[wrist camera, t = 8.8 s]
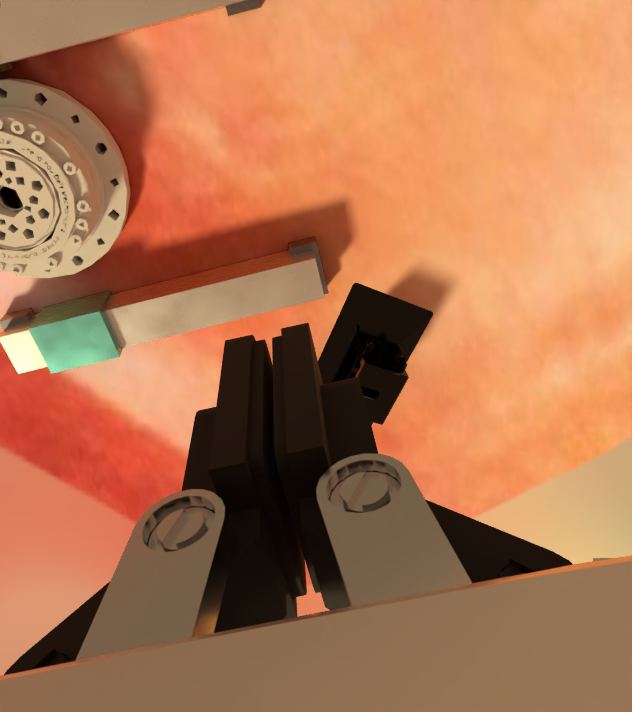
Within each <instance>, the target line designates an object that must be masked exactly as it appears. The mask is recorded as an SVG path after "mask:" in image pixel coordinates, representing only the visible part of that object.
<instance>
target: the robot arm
mask: <svg viewBox="0 0 632 712" xmlns="http://www.w3.org/2000/svg"><path fill="white" fill-rule="evenodd" d="M281 333H282V336H279V337H274V338H272V348H273V365H272V362H271V358H270V354H269V351H268V347H267V344H266V341H265V340H260V341H256V340H255V338H254V336H253V335H249V336H245V337H240V338H235V339H231V340H226V341H225V346H224V354H223V361H222V369H221V377H220V384H219V392H218V399H217V407H213V408H209V409H204V410H199V411H198V412H197V413H196V416H195V421H194V426H193V432H192V437H191V443H190V448H189V454H188V459H187V465H186V470H185V476H184V481H183V487H182V491H180V492H176V493H174V494H171V495H169V496H167V497H164V498H163V499H161V500H160V501H158V502H157V503H155V504H154V505H152V506H151V507H150V508H149V509H148V510H147V511H146V512H145V513H144V514H143V515H142V516H141V517H140V519H139V520H138V522H137V524H136V525H135V527H134V529H133V531H132V534H131V536H130V538H129V541H128V543H127V545H126V547H125V550H124V552H123V554H122V556H121V559H120V561H119V563H118V565H117V568H116V570H115V572H114V574H113V577H112V579H111V581H110V582H109V583H108V584H106V585H105V586H104V587H103V588H102V589H101V590H99V591H98V592H97V593H96V594H95V595H93V596H92V597H91V598H90V599H89V600H87V601H86V602H85V603H84V604H83V605H81V606H80V607H79V608H78V609H77V610H76V611H74V612H73V613H72V614H71V615H70V616H68V617H67V618H66V619H65V620H64V621H62V622H61V623H60V624H59V625H58V626H57V627H55V628H54V629H53V630H52V631H51V632H49V633H48V634H47V635H46V636H45V637H43V638H42V639H41V640H40V641H39V642H38V643H36V644H35V645H34V646H33V647H32V648H31V649H29V650H28V651H27V652H26V653H25V654H23V655H22V656H21V657H20V658H19V659H18V660H17V661H16V662H15V663H14V664H13V665H12V666H11V667H10V668H9V669H8V670H7V671H6V673H5V674H4V675H3V676H0V712H632V556H626V557H619V558H594V559H593V562H587V563H580V564H574V565H573V564H572V563H571V562H570V561H569V560H567V559H565V558H563V557H562V556H560V555H558V554H556V553H554V552H552V551H550V550H548V549H545V548H543V547H540V546H538V545H535V544H533V543H530V542H528V541H525V540H523V539H521V538H518V537H515V536H513V535H511V534H508V533H506V532H503V531H501V530H499V529H496V528H494V527H491V526H488V525H486V524H484V523H481V522H479V521H476V520H474V519H472V518H469V517H467V516H464V515H462V514H459V513H457V512H454V511H452V510H449V509H447V508H445V507H442V506H440V505H437V504H435V503H432V502H430V501H427V500H425V498H424V497H423V495H422V493H421V491H420V490H419V488H418V486H417V484H416V483H415V481H414V479H413V477H412V475H411V474H410V472H409V470H408V469H407V468H406V467H405V466H404V465H403V463H402V462H400V461H398V460H396V459H395V458H393V457H391V456H386V455H382V454H378V451H377V447H376V443H375V439H374V435H373V431H372V427H371V423H370V419H369V415H368V411H367V407H366V403H365V399H364V395H363V391H362V388H361V384H360V380H359V377H355V378H351V379H346V380H341V381H337V382H332V383H327V384H323V382H322V378H321V374H320V369H319V365H318V361H317V357H316V352H315V348H314V344H313V340H312V335H311V331H310V327H309V324H308V323H305V324H300V325H296V326H291V327H286V328H282V329H281ZM305 561H306V564H307V568H308V571H309V574H310V578H311V581H312V584H313V587H314V590H315V592H316V593H317V592H321V594H322V597H323V601H324V604H325V607H326V608H328V609H329V610H330V611H325V612H320V613H314V614H309V615H304V616H299V617H297V603H296V597H298V596H303V595H306V593H307V588H306V573H305Z"/></svg>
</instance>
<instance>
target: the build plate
mask: <svg viewBox="0 0 632 712" xmlns="http://www.w3.org/2000/svg"><path fill="white" fill-rule="evenodd" d="M432 316H433V312H431V311H429V310H426V309H424V308H421V307H418V306H416V305H413V304H411V303H408V302H405V301H403V300H400V299H398V298H395V297H392V296H390V295H387V294H385V293H382V292H379V291H377V290H374V289H372V288H369V287H366V286H364V285H361V284H359V283H354V284H353V286H352V288H351V290H350V292H349V295H348V297H347V299H346V301H345V303H344V306H343V308H342V310H341V312H340V314H339V317H338V319H337V321H336V323H335V325H334V328H333V330H332V332H331V334H330V336H329V338H328V341H327V343H326V345H325V347H324V349H323V352H322V354H321V356H320V358H319V360H318V365H319V369H320V374H321V378H322V382H323V384H327V383H332V382H337V381H341V380H346V379H351V378H355V377H359V380H360V384H361V388H362V391H363V395H364V399H365V403H366V407H367V411H368V415H369V419H370V423H371V425H372V424H373V422H374V423H378V424H381V425H382V424H383V423H384V421H385V419H386V418H387V416H388V414H389V412H390V410H391V409H392V407H393V405H394V403H395V401H396V400H397V398H398V396H399V394H400V392H401V390H402V389H403V387H404V385H405V383H406V381H407V380H408V378H409V377H408V375H407V373H406V371H405V369H406V367H407V363H406V362H407V361H408V359H409V357H410V355H411V353H412V352H413V350H414V348H415V346H416V344H417V343H418V341H419V339H420V337H421V335H422V334H423V332H424V330H425V328H426V326H427V325H428V323H429V321H430V319H431V318H432Z"/></svg>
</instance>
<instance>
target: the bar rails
mask: <svg viewBox="0 0 632 712" xmlns="http://www.w3.org/2000/svg"><path fill="white" fill-rule="evenodd" d="M223 7H226V9H227V13H228V16H231V15H234V14H238V13H242V12H246V11H250V10H253V9H257V8H261V4H260V0H0V72H3V71H6V70H10V69H14V66H13V64H12V63H13V62H17V61H21V60H25V59H29V58H32V57H36V56H40V55H44V54H48V53H51V52H55V51H59V50H63V49H67V48H70V47H74V46H78V45H82V44H86V43H90V42H93V41H97V40H101V39H105V38H109V37H112V36H116V35H120V34H124V33H128V32H131V31H135V30H139V29H143V28H147V27H151V26H154V25H158V24H162V23H166V22H170V21H173V20H177V19H181V18H185V17H189V16H192V15H196V14H200V13H204V12H208V11H212V10H215V9H219V8H223ZM288 247H289V250H287V251H283V252H279V253H275V254H271V255H267V256H263V257H259V258H255V259H251V260H247V261H243V262H239V263H235V264H231V265H227V266H223V267H219V268H215V269H211V270H207V271H203V272H199V273H195V274H191V275H187V276H183V277H179V278H175V279H171V280H167V281H163V282H159V283H155V284H151V285H147V286H143V287H139V288H135V289H131V290H127V291H123V292H120V293H116V294H111V292H110V291H107V292H103V293H99V294H95V295H91V296H87V297H83V298H79V299H75V300H71V301H67V302H63V303H59V304H55V305H51V306H47V307H44V308H43V309H42V311H41V312H40V313H36V314H34V312H33V310H32V308H29V309H25V310H21V311H17V312H13V313H9V314H5V315H4V316H3V317H2V319H1V320H0V325H1V327H2V329H3V330H4V331H3V332H2V334H1V335H0V342H1V344H2V345H3V347H4V349H5V351H6V353H7V354H8V356H9V358H10V360H11V362H12V363H13V365H14V367H15V369H16V371H17V372H18V374H20V373H24V372H28V371H32V370H36V369H40V368H44V367H48V368H49V370H50V372H51V374H52V373H56V372H60V371H64V370H68V369H72V368H76V367H80V366H84V365H88V364H92V363H96V362H100V361H104V360H108V359H112V358H116V357H120V354H121V352H122V349H123V348H124V347H128V346H132V345H137V344H141V343H145V342H149V341H153V340H157V339H161V338H165V337H169V336H173V335H177V334H181V333H185V332H189V331H193V330H197V329H201V328H205V327H209V326H213V325H217V324H221V323H225V322H229V321H233V320H237V319H241V318H245V317H249V316H253V315H257V314H261V313H265V312H269V311H273V310H277V309H281V308H285V307H289V306H293V305H297V304H302V303H306V302H310V301H314V300H318V299H322V298H325V297H324V294H327V293H328V288H327V284H326V280H325V276H324V271H323V267H322V263H321V259H320V254H319V250H318V246H317V242H316V238H315V237H311V238H307V239H303V240H299V241H295V242H291V243H288Z"/></svg>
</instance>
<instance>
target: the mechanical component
mask: <svg viewBox="0 0 632 712" xmlns="http://www.w3.org/2000/svg"><path fill="white" fill-rule="evenodd" d="M41 93H42V94H43V95H44V96H45V98H46V99H47V101H46V102H44V101H42V96H41ZM76 115H78V118H79V119H78V118H77V117H76ZM100 143H104V145H105V146H106V148H107V150H104V151H103V149H102V147H101V145H100ZM115 178H116V179H117V181H118V182H116V180H115ZM3 186H5V187H8V188H11V189H12V191H13V192H14V194H15V196H16V197H17V199H18V200H17V205H21V206H22V207H21V208H18V209H15V208H14V207H12V206H11V205H9V204H8V203H7V201H6V200H5V199H4V197H3V196H2V194H1V192H0V271H7V272H10V273H13V274H15V275H19V276H25V277H38V278H53V277H59V276H65V275H71V274H75V273H77V272H79V271H81V270H83V269H85V268H87V267H89V266H91V265H92V264H93V263H95V262H96V261H97V260H98V259H99V258H101V257H102V256H103V255H104V254H106V253H107V252H108V251H109V249H110V248H111V247H112V245H113V244H114V242H115V241H116V240H117V238H118V237H119V235H120V234H121V232H122V229H123V227H124V224H125V222H126V219H127V214H128V208H129V201H130V195H131V192H130V185H129V178H128V171H127V167H126V164H125V161H124V159H123V156H122V153H121V151H120V148H119V147H118V145H117V143H116V142H115V140H114V138H113V137H112V135H111V133H110V132H109V130H108V129H107V128H106V127H105V126H104V124H103V123H102V122H101V121H100V120H99V119H98V118H97V117H96V116H95V115H94V113H93V112H92V111H90V110H89V109H88V108H86V107H85V106H84V105H82V104H81V103H79V102H78V101H77V100H75V99H74V98H73V97H71V96H70V95H68V94H67V93H66V92H64V91H62V90H59V89H56V88H53V87H50V86H47V85H44V84H41V83H38V82H34V81H31V80H25V79H14V78H6V79H0V190H1V188H2V187H3ZM113 209H114V210H115V211H116V212H117V213H118V214H119V215H118V214H116V213H115V212H113V211H112V210H113ZM55 228H56V229H55ZM79 256H80V257H81V258H82V259H80V258H79Z"/></svg>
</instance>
